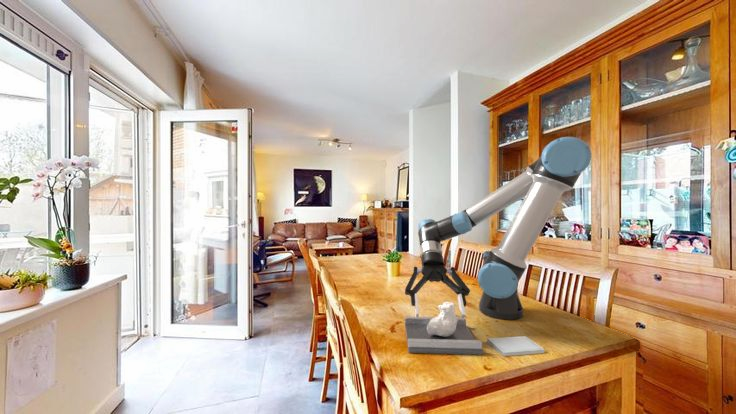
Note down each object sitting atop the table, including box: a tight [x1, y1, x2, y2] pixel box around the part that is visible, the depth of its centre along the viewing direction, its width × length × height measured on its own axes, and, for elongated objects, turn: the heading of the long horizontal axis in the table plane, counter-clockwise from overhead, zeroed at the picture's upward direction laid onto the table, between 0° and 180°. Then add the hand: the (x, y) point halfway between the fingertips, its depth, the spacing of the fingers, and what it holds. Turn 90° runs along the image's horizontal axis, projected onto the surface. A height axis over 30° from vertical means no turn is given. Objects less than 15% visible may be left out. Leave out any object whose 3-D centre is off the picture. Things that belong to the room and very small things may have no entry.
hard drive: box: [486, 335, 546, 357], centre depth 78 cm, size 2×8×12 cm
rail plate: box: [404, 316, 484, 356], centre depth 84 cm, size 20×18×3 cm
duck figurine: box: [427, 301, 458, 337], centre depth 83 cm, size 12×8×11 cm
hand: (440, 316), depth 81 cm, fingers open, 13 cm apart
